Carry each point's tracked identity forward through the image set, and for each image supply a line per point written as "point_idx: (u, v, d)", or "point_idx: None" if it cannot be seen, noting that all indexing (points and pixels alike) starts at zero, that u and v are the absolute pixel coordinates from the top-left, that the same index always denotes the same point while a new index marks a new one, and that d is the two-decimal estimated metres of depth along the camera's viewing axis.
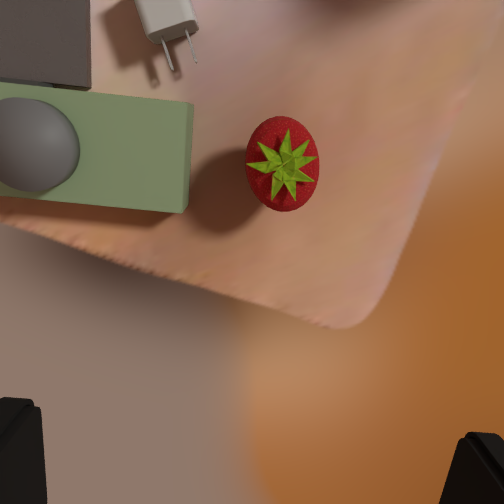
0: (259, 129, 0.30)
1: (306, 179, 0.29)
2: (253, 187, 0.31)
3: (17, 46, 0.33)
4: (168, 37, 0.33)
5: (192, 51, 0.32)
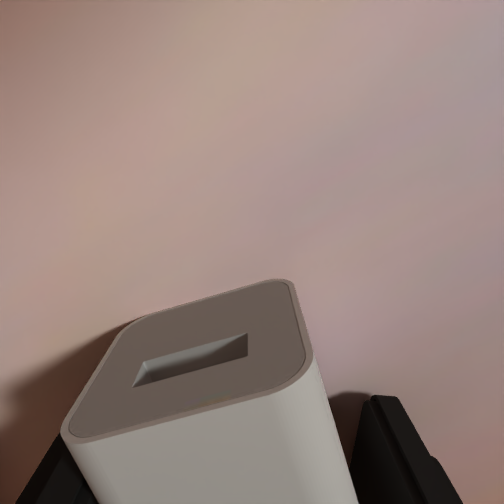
0: None
1: None
2: None
3: None
4: None
5: None
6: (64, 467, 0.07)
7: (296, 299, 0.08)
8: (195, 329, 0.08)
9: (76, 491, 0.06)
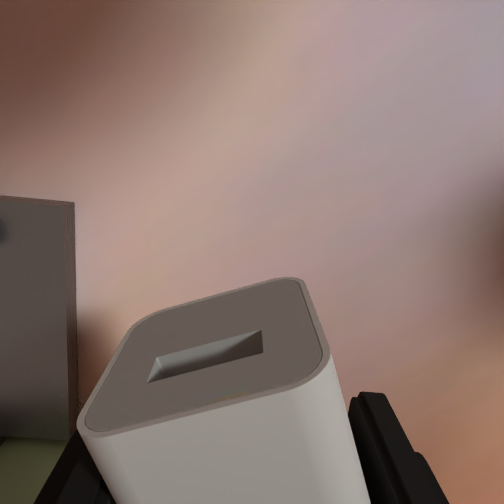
0: None
1: None
2: None
3: None
4: None
5: None
6: (84, 464, 0.07)
7: (308, 297, 0.08)
8: (207, 326, 0.08)
9: (96, 489, 0.06)
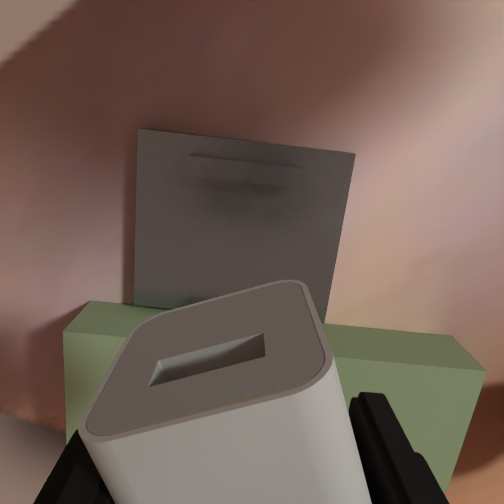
0: None
1: None
2: None
3: (239, 277, 0.24)
4: None
5: None
6: (84, 464, 0.07)
7: (310, 300, 0.08)
8: (209, 329, 0.08)
9: (96, 488, 0.06)
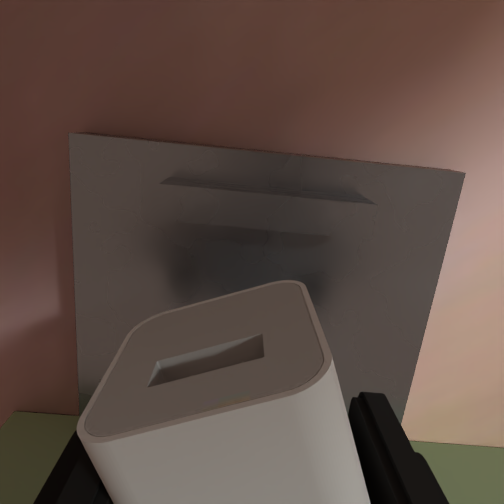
0: None
1: None
2: None
3: None
4: None
5: None
6: (84, 464, 0.07)
7: (309, 300, 0.08)
8: (208, 329, 0.08)
9: (96, 488, 0.06)
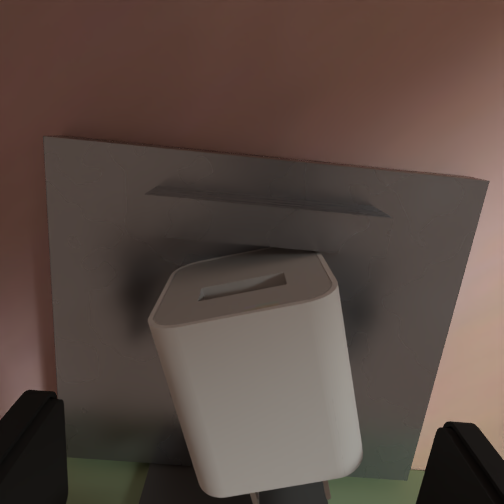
0: None
1: None
2: None
3: None
4: None
5: None
6: None
7: (320, 254, 0.10)
8: (239, 270, 0.10)
9: None
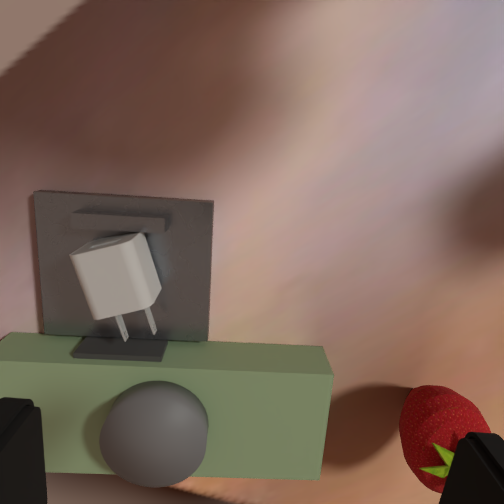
0: (427, 417, 0.26)
1: None
2: (416, 473, 0.27)
3: None
4: None
5: (150, 324, 0.27)
6: None
7: (139, 232, 0.26)
8: (109, 240, 0.26)
9: None
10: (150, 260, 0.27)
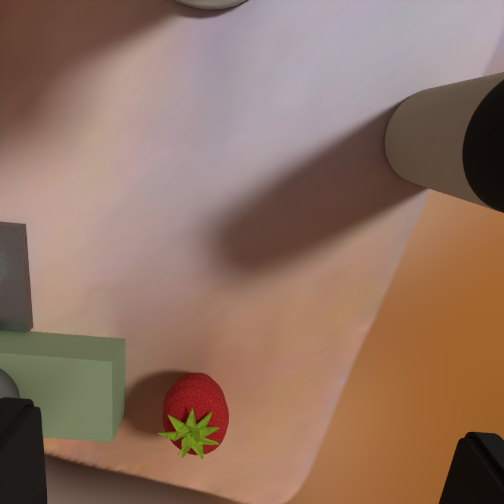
0: (171, 396, 0.34)
1: (211, 443, 0.34)
2: (169, 438, 0.35)
3: None
4: None
5: None
6: None
7: None
8: None
9: None
10: None
